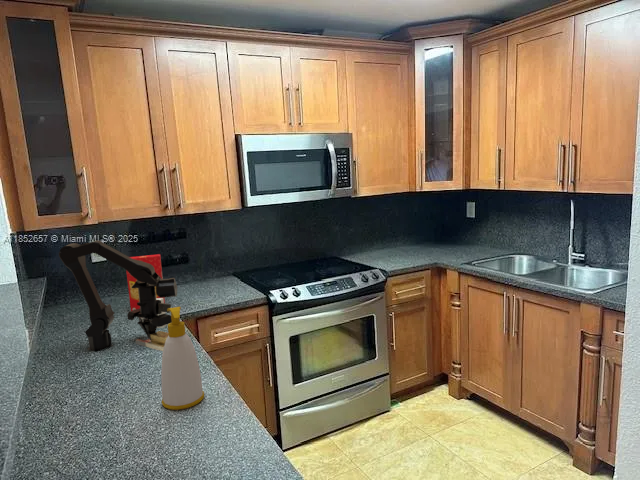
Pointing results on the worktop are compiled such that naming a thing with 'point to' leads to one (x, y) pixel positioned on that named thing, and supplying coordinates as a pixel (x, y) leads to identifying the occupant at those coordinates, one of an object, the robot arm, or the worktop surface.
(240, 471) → the worktop surface
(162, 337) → the chip
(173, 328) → the soap bottle
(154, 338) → the chip
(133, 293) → the food packaging
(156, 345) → the slot board
